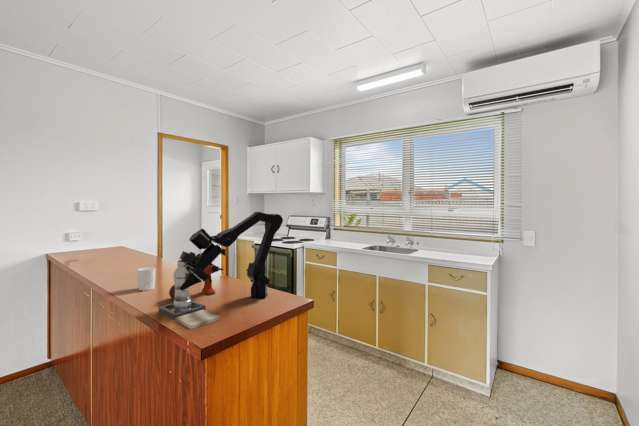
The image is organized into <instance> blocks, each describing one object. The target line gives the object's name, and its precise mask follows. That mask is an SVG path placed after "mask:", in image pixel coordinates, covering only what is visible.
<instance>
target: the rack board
mask: <svg viewBox="0 0 639 426" xmlns="http://www.w3.org/2000/svg"><path fill="white" fill-rule="evenodd" d="M220 319H221V317H220V315H217V314H215V313H213V312H210V311H208V310H200V311H197V312H193V313H190V314H186V315H183V316H179V317H176V318H175V320H174V321H175V322H177V323H179V324H180V325H182V326H185V327H186V328H189V329H190V330H192V329H196V328H199V327H202V326H205V325H208V324H211V323H214V322H216V321H220Z"/></svg>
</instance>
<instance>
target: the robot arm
mask: <svg viewBox="0 0 639 426" xmlns="http://www.w3.org/2000/svg"><path fill="white" fill-rule="evenodd" d="M283 219H284V218H283V216H282V215H280V214H278V213H265V212H262V211H253V213H252V214H251V215H249V216H247V217H246V218H245V219H243V220H241V221H240V222H238V223H237V224H236V225H234V226H233V227H231V228H228V229H225V230H224V229H223V231H220V232H219V233H217V234H215V235H210V234H209V233H208V232H207V231H206V230H205V229H204V228H200V229H199V230H197V231H196V232H195V233H193V234H192V235H191V236H190V237H189V240H188V241H190V242H191V243H192V244H193V245H194V246H195V247H197V249H199V250H203V251H202V252H201V253H197V254H196V253H195V252H192V251H190V252H186V251H184V250H183V251H182V252H181V255H180V256H179V260H183V261H188V265H187V267H188V268H189V270H190V271H191V272H190V271H189V275H188V278H187V279H186V280H185V282H184V283H183V284H182V286H181V287H180V290H184V289H186V288H188V287H190V288H191V287H192V286H194V285H196V284H198V283H202V281H203V282H204V283H205V282H206V280H207V279H208V274H207V273H206V272H205V270H206V269H207V267H208V266H209V265H210V266H212V264H213V263H214V262H215V261H216V259H217V258H218V257H219V256H220V255H222V256H224V257H225V256H226V255H227V254H226V248H227V247H231V245H233V244H234V243H235V242H236V241H237V239H238V238H239V237H240V235H242V234H243V233H244V232H246V231H247V230H249V229H250V228H252V227H253V226H255V225H256V224H258V223H259V222H263V223H264V233H263V236H262V239H261V242H260V245H259V248H258V251H257V254H256V257H255V259H254V261H253V262H249V263H248V267H247V268H246V276H247V278H248V279H249V280H250V282H251V286H250V299H263V300H264V299H266V298H267V297H268V295H269V293H268V285H269V284H270V279H269V277H267V276H266V271H267V269H266V261H267V259H268V256H269V252H270V249H271V246H272V244H273V241H274V237H275V236H276V235H275V234H276V233H277V231H279V229H280V228H281V226H282V224H283V222H284V220H283ZM214 243H215V244H214ZM222 247H224V248H222Z"/></svg>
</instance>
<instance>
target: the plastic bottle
mask: <svg viewBox="0 0 639 426" xmlns="http://www.w3.org/2000/svg"><path fill="white" fill-rule="evenodd" d="M176 265H177V267H176V269H175V270H174V272H173V274H172V275H173V277H172V278H173V283H174V285H175V298H174V299H173V302H172V304H173V308H174V309H173V311H174V312H175V313H177V312H181V311H185V310H188V309H192V307H191V300H192V299H191V290H190V289H191V286H190V287H188V288H186V289H184V290H180V287H181V286H182V284H183V283H184V282H185V280H186V279H187V278H188V275H189V271H190V270H189V268H188V267H187V265H188V261H183V260H181V259H179V260H177V264H176ZM190 272H191V271H190Z"/></svg>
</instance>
